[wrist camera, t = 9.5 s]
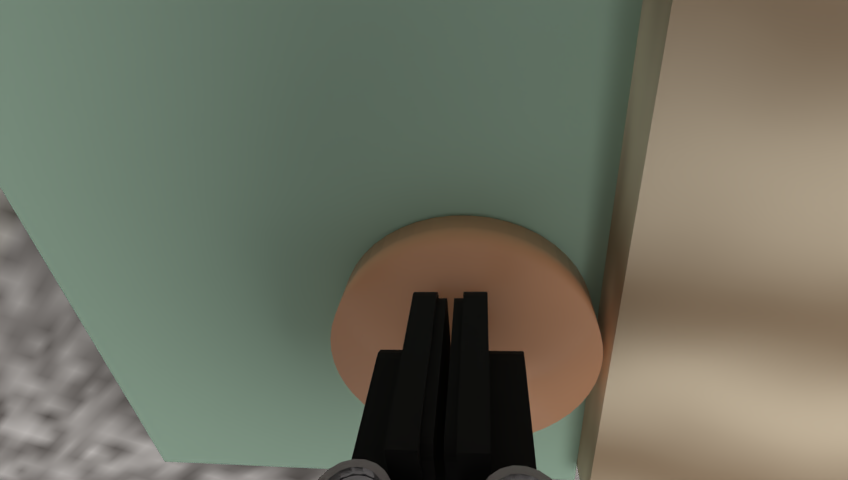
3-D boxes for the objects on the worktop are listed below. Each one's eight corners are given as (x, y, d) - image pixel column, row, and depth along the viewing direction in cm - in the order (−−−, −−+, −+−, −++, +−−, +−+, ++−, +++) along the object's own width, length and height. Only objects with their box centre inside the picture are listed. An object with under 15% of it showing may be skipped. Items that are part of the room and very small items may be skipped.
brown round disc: (307, 240, 13) (287, 275, 12) (578, 191, 11) (590, 224, 10) (386, 408, 16) (378, 449, 15) (601, 389, 15) (611, 433, 13)
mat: (-132, -68, 10) (-153, -68, 10) (657, -158, 8) (666, -163, 8) (170, 452, 20) (164, 461, 19) (572, 469, 18) (574, 480, 17)
